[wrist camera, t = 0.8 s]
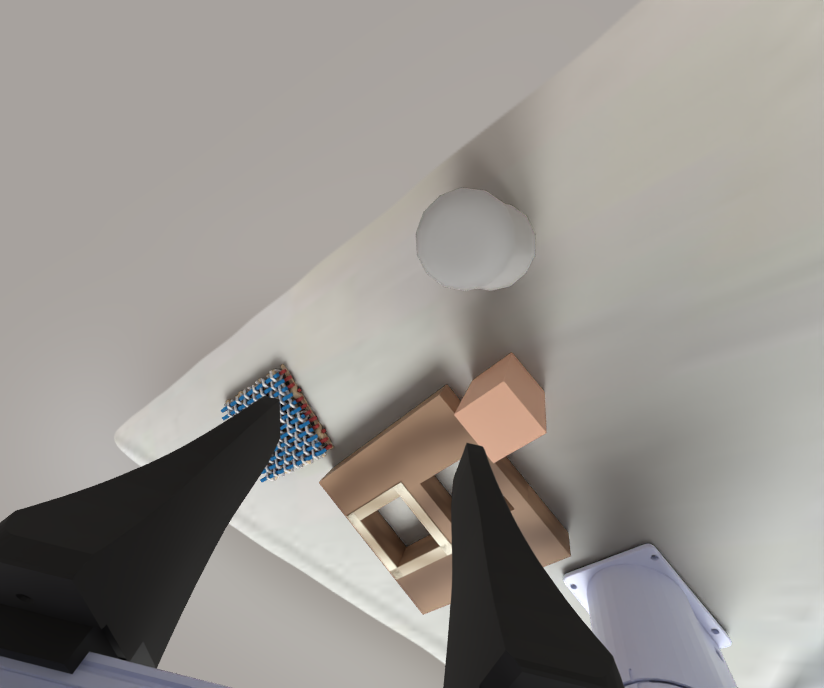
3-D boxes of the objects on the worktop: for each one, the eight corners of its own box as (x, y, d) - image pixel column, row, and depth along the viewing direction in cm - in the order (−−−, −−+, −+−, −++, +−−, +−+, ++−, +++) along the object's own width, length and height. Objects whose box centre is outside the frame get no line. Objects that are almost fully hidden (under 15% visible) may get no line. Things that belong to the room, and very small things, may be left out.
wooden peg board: (568, 532, 29) (571, 557, 27) (430, 591, 36) (422, 615, 33) (446, 384, 30) (438, 395, 28) (332, 468, 36) (318, 483, 34)
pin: (544, 391, 27) (546, 432, 21) (503, 417, 29) (493, 463, 23) (511, 352, 28) (503, 380, 21) (472, 380, 29) (453, 414, 23)
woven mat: (342, 446, 36) (331, 457, 34) (276, 477, 40) (263, 488, 38) (289, 359, 36) (275, 365, 34) (228, 400, 40) (213, 407, 38)
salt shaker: (534, 286, 26) (531, 311, 14) (458, 289, 28) (398, 312, 16) (536, 202, 25) (535, 150, 13) (456, 211, 26) (388, 172, 15)
